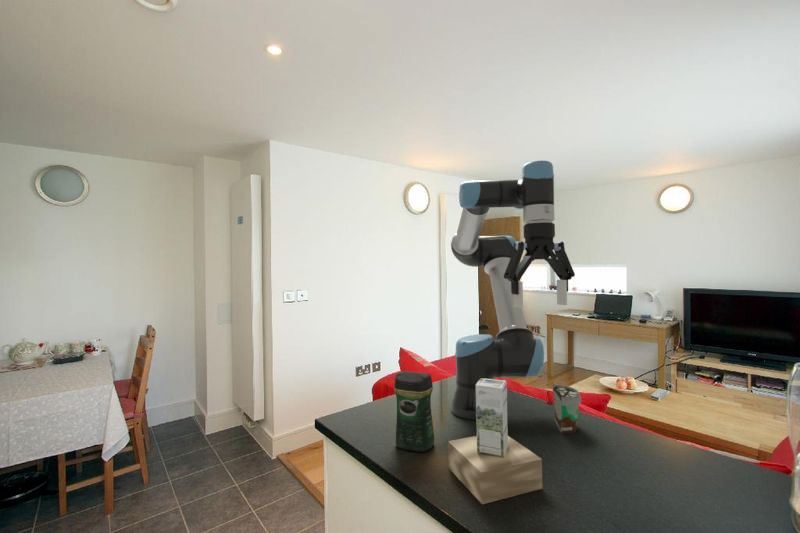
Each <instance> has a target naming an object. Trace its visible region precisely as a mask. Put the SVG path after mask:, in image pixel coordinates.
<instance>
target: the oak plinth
mask: <svg viewBox="0 0 800 533" xmlns="http://www.w3.org/2000/svg"><path fill="white" fill-rule="evenodd" d="M447 447H448V448H447V450H448V451H447V454H448V455H447V456H448V469H449V470H450V471H451V473H453V474H454V475H455V477H457V479H458V480H459V481H460V482H461V483H462V484H463V485H464V487H465V488H466V489H467V490H468V491H469V492H470V493H471V494H472V495H473V497H475V498H476V499H477V501H478V502H479V503H480V504H481V505H485V504H489V503H493V502H497V501H500V500H503V499H508V498H512V497H516V496H519V495H520V496H521V495H523V494H527V493H531V492H534V491H539V490H542V489H543V459H542V458H541V456H539V455H537V454H535V453H534V452H532V451H531V450H530V449H528V448H527V447H526V446H524V445H522V444H521V443H519V442H518V441H517V440H515V439H513V438H512V437H511V436H509V435H508V447H507V450H506V453H505V456H504V457H499V456H493V455H488V454H483V453H478V452H477V435H473V436H469V437H464V438H463V437H462V438H458V439H453V440H448V442H447Z"/></svg>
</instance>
